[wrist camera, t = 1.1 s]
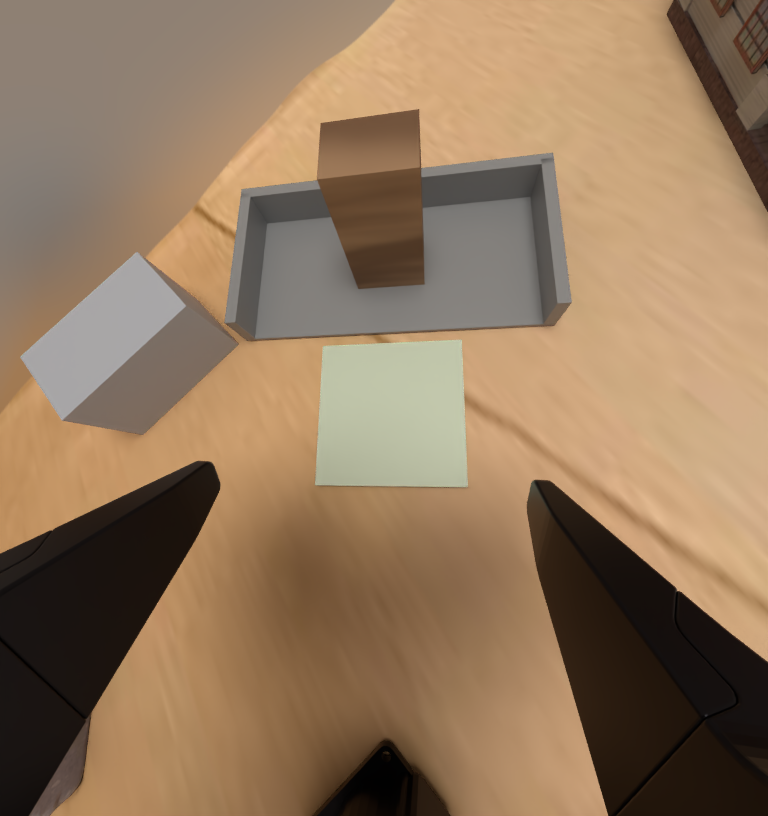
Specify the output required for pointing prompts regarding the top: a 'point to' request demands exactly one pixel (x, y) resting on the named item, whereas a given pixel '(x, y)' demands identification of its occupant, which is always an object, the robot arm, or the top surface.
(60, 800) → the stone block
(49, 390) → the greyblue box
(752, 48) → the model house
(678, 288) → the top surface
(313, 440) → the top surface
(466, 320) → the parts tray
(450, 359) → the pad
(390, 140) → the walnut box
